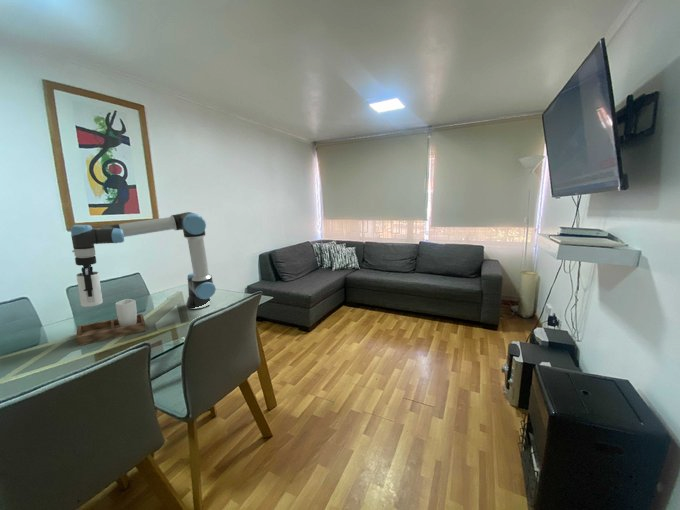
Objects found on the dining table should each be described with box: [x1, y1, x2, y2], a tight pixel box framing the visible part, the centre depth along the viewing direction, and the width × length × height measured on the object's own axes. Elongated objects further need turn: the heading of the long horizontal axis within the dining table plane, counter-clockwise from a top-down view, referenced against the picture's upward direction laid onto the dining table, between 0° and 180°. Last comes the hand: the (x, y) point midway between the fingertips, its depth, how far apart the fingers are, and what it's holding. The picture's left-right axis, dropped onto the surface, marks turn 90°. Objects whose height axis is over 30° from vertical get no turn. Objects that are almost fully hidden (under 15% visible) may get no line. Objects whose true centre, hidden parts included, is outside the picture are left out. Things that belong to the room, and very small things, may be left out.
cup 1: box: [76, 271, 104, 308], centre depth 136 cm, size 8×8×16 cm
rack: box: [75, 313, 147, 347], centre depth 145 cm, size 28×14×4 cm, turn 131°
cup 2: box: [114, 298, 138, 327], centre depth 149 cm, size 7×7×15 cm
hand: (91, 299), depth 137 cm, fingers closed on cup 1, 8 cm apart
